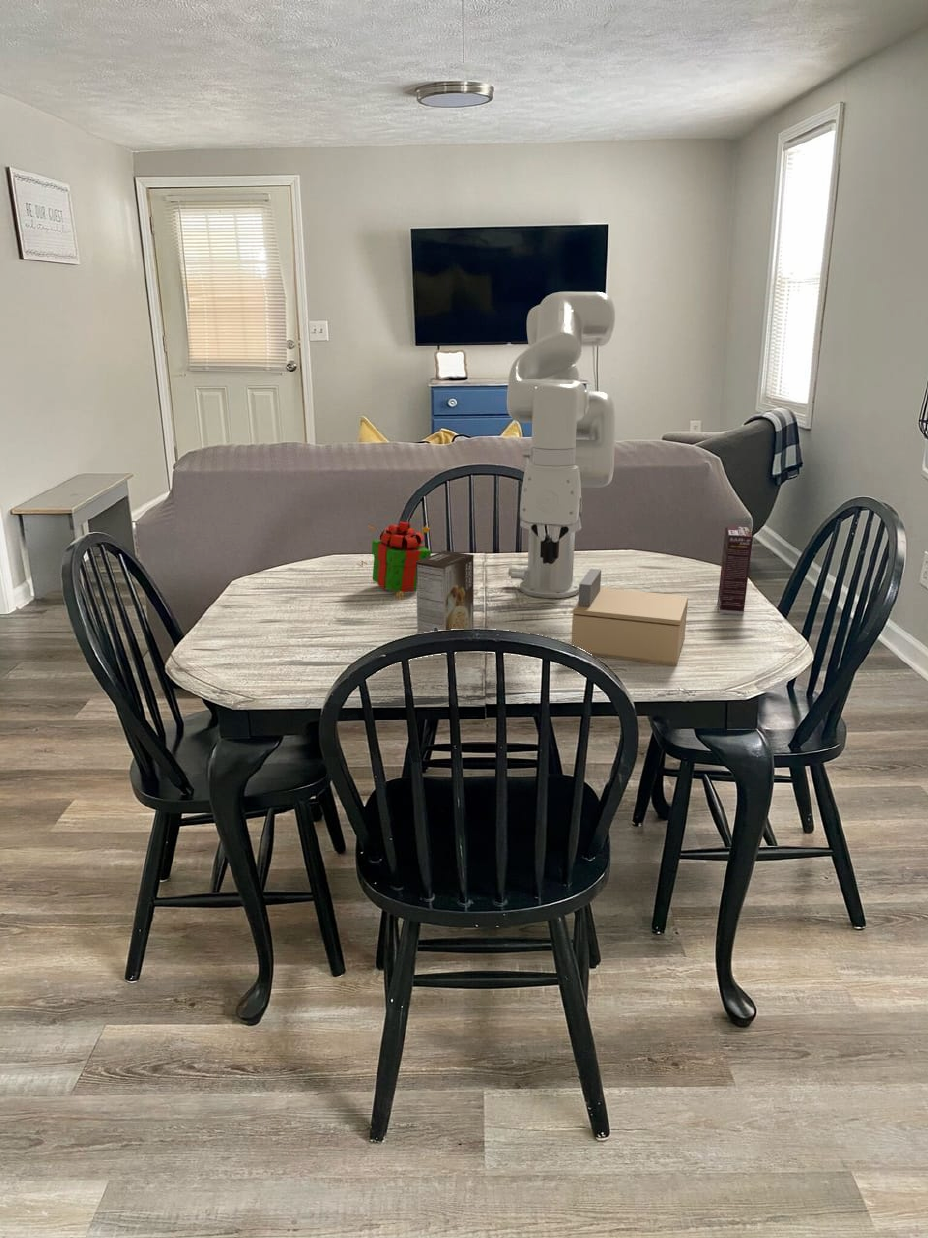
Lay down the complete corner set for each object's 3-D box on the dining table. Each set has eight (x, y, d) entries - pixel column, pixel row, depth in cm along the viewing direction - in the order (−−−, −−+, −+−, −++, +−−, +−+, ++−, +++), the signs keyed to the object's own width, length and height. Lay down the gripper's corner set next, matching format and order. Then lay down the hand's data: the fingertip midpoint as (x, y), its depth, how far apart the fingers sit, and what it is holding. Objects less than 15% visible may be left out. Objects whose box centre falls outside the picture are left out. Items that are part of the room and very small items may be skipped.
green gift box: (453, 598, 197) (462, 532, 192) (376, 604, 186) (383, 534, 182) (405, 571, 212) (412, 509, 207) (331, 574, 201) (337, 510, 197)
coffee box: (444, 634, 170) (444, 549, 165) (474, 640, 167) (475, 554, 162) (416, 649, 163) (414, 560, 157) (446, 656, 160) (446, 566, 154)
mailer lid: (572, 613, 159) (573, 586, 157) (588, 590, 171) (589, 565, 170) (679, 625, 153) (682, 597, 152) (687, 600, 166) (690, 574, 164)
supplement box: (744, 616, 181) (753, 536, 175) (719, 614, 182) (727, 535, 176) (741, 602, 189) (749, 526, 184) (717, 601, 190) (724, 525, 184)
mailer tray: (570, 653, 161) (572, 615, 159) (586, 627, 174) (588, 592, 171) (676, 666, 156) (679, 626, 153) (684, 638, 168) (687, 602, 166)
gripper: (505, 458, 157) (502, 563, 163) (592, 463, 153) (586, 570, 158) (516, 453, 164) (514, 554, 169) (600, 457, 159) (595, 560, 165)
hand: (549, 561), depth 164 cm, fingers closed
